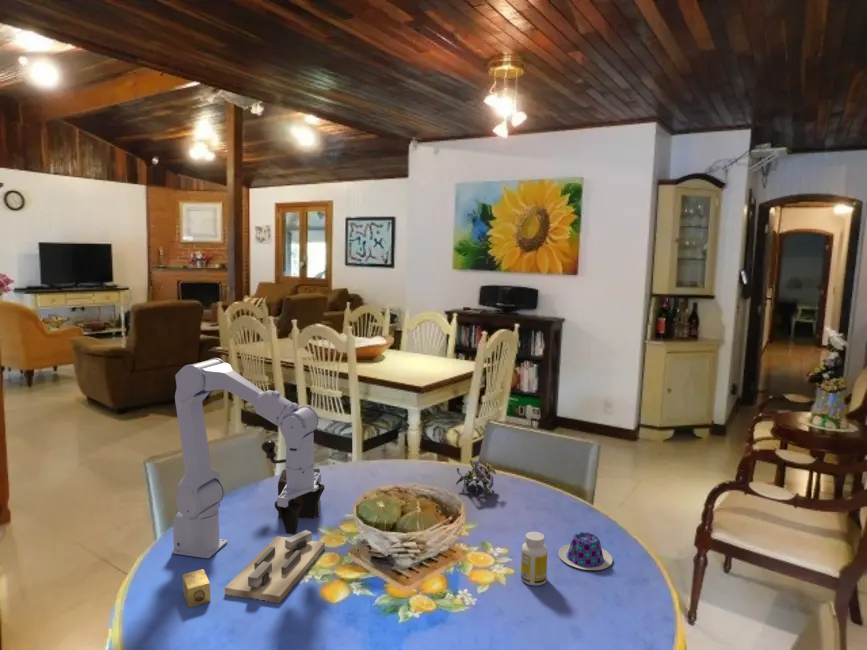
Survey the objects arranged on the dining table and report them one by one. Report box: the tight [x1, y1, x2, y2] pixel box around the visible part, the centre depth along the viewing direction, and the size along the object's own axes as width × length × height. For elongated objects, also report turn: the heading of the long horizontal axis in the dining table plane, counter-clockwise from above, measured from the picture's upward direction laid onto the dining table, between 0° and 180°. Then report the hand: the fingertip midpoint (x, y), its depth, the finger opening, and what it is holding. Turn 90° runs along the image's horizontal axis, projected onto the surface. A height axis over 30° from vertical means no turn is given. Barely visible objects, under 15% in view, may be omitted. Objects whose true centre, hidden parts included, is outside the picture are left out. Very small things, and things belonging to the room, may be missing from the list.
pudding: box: [557, 531, 614, 571], centre depth 135 cm, size 12×12×5 cm
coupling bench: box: [224, 529, 326, 604], centre depth 128 cm, size 12×22×4 cm, turn 167°
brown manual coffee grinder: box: [261, 439, 322, 519], centre depth 156 cm, size 16×11×18 cm
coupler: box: [181, 568, 211, 608], centre depth 118 cm, size 4×7×4 cm, turn 32°
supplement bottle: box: [520, 531, 548, 587], centre depth 125 cm, size 5×5×10 cm
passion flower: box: [455, 458, 497, 496], centre depth 170 cm, size 11×11×12 cm
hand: (300, 525), depth 127 cm, fingers open, 7 cm apart
